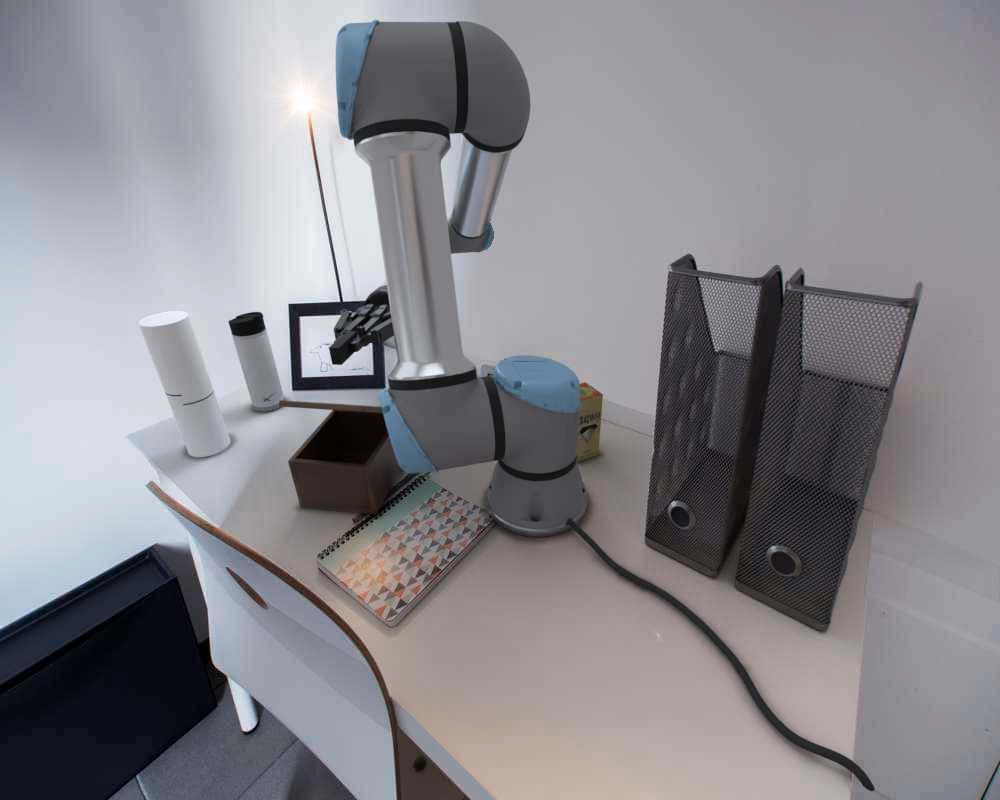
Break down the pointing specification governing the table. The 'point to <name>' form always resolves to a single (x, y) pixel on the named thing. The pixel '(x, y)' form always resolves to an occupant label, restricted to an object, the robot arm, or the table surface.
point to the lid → (330, 406)
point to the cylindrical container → (185, 381)
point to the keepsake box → (346, 464)
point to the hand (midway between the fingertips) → (335, 356)
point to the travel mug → (257, 361)
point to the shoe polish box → (589, 422)
